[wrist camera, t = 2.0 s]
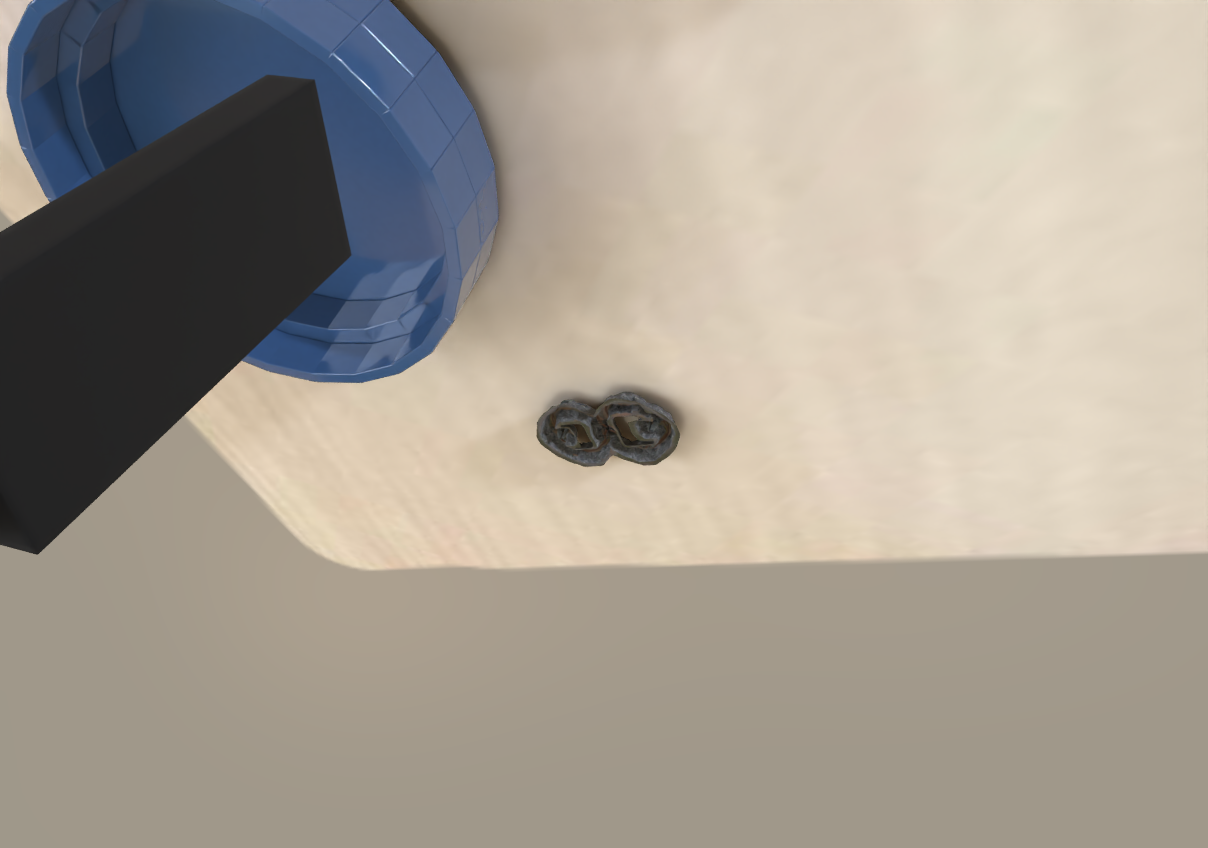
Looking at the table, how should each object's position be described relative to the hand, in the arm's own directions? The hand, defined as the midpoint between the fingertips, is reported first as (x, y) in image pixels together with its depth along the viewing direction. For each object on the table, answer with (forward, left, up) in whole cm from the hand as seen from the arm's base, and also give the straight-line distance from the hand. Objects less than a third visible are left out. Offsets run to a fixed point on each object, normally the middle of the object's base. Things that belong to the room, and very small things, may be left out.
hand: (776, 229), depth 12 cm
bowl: (+3, -27, -21) cm, 34 cm away
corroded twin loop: (+22, -21, -21) cm, 37 cm away
